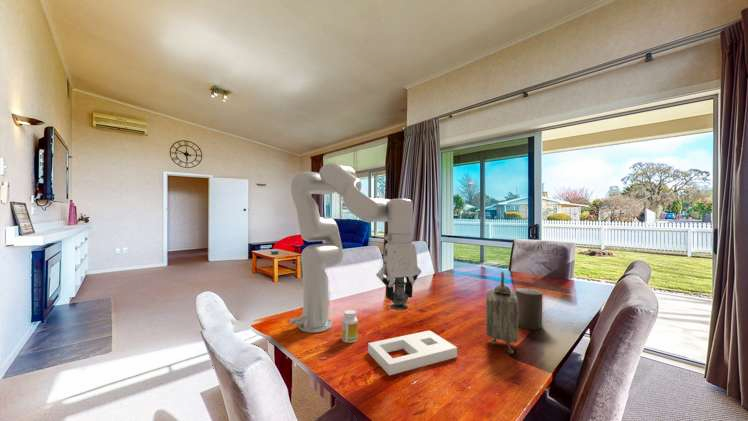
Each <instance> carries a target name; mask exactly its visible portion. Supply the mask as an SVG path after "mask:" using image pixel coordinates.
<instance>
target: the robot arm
mask: <svg viewBox="0 0 748 421" xmlns="http://www.w3.org/2000/svg"><path fill="white" fill-rule="evenodd" d="M361 189H362V181H361V180H360V179H359V178H358V177H357V174H356V171H355V169H353V167H351V166H350V165H346V164H341V163H336V162H335V163H334V162H328V163H325V164H323V165H322V166H321V167H320V169H319V172H315V171H306V170H305V171H300V172H298V173H296V174H295V175H294V176H293V178H292V180H291V183H290V194H291V197H292V200H293V203H294V206H295V210H296V214H297V216H296V217H297V220H298V226H299V232H300V236H301V239H302V240H304V241H306V242H309V243H310V242H322V243H317V244H316V243H315V244H311V245H308V246H306V247H305V248H304V249H302V252H301V254H300V261H301V268H302V275H303V276H302V278H303V280H302V281H303V283H302V284H303V285H302V287H303V289H302V290H303V291H302V296H303V297H302V299H303V300H302V313H301V314H300V316H298V317H294V318H290V319H289V324H290V325H294V326H298V329H299V330H300V331H302V332H304V333H309V334H312V333H322V332H325V331H328V330H329V329H331V328H332V326H333V321H332V320H331V319H329V277H328V275H327V272H326V271H325V269H326V268H330V267H331V268H332V267H335V266H338V265H340V264H341V263H342V261H343V258H344V252H343V251H344V250H343V245H342V239H341V236H340V234H341V233H340V231H339V226H338V224H337V222H336V220H334V219H333V218H332V217H327V216H323V217H321V215H320V212H319V210H320V209H319V205H318V203H317V202H316V200H315V199H314V197H312V194H315V195H331V194H334V193H337V194H338V195H339V196H340V197H342V201H343V203H344V205H345V207H346V209H347V210H348V211H349V212H350V213H352V215H354V217H357V218H358V219H360V221H363V222H367V223H375V222H376V223H379V222H380V223H381V222H383V223H384V222H385V223H386V222H387V234H386V235H384V237H383V239H384V241H387V243H385V247H384V249H383V251H384V252H383V259H382V267H381V268H379V270H378V272H377V273H376V277H377V278H378V279H379V280H380V281H381V282H382V283H383V284H384V285H385V297H386V299H388V300H390V301H391V300H393V296H394V289H395V287H394V286H393V285H394V282H395V278H402V277H404V279H405V281H406V282H404V283H405V285H404V291H405V294H407V295H409V297H408V298H413V288H414V287H413V285H414V284H415V282H416V280H417V279H418V277H419V276H420V275H421V273H422V270H421V269H420V267H419V266H418V256H417V255H418V254H417V249H416V248H417V247H416V244H415V243H413V216H414V213H413V212H414V211H413V209H414V206H413V201H412V200H411V199H408V198H392V199H390V198H382V197H381V198H380V197H369V196H367V195H366V194H365V193H363V192H362V191H361ZM384 275H385V276H384Z"/></svg>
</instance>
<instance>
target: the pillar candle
mask: <svg viewBox="0 0 748 421" xmlns="http://www.w3.org/2000/svg"><path fill="white" fill-rule="evenodd" d="M515 294H516V296H517V300H518V327H520V328H523V329H527V330H534V331H537V330H541V329H542V328H543V292H542V291H541V290H537V289H533V288H529V287H527V288H525V287H520V288H519V287H517V288H515Z"/></svg>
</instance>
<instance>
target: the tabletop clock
mask: <svg viewBox="0 0 748 421" xmlns="http://www.w3.org/2000/svg"><path fill="white" fill-rule="evenodd" d="M500 275H501V276H500V278H501V280H500V284H498V285H496V287H495V288H494V289H491V290H488V291H486V295H485V296H486V297H485V298H486V301H485V303H486V304H485V305H486V306H485V309H486V310H485V311H486V312H485V331H486V332H485V335H487V336H488V337H490V338H491V339H492V340H491V344H492V345H493V346H495V345H497V344H498V342H497V340H500V341H504V342H505V345H506V346H507V348H508V350H507V352H508V354H509V355H513V354H514V350H513V349H512V348H511V346H510V342H513V343H518V339H519V336H518V335H519V334H518V333H519V326H518V300H517V296H516V294H515V292H516V291H515V292H514V291H511V289H510V287H508V286H507V285H505V273H504V271H501V273H500Z"/></svg>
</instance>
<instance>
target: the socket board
mask: <svg viewBox="0 0 748 421" xmlns="http://www.w3.org/2000/svg"><path fill="white" fill-rule="evenodd" d="M367 346H368V347H367V352H368V354H369V355H370V357H371V358H373V360H374V361H375V362H376V363H377V364H378V365H379V366H380V367H381V368H382V369H383V370H384V372H386V374H387V375H388V376H393V375H397V374H400V373H403V372H407V371H411V370H414V369H419V368H422V367H426V366H428V365H433V364H437V363H439V362H444V361H449V360H451V359H455V358H458V347H457V346H455V344H453V343H451V342H450V341H447V340H446V339H444V338H443V337H441V336H440V335H438V334H436V333H435V332H433V331H431V330H425V331H420V332H414V333H411V334H406V335H401V336H396V337H392V338H387V339H386V338H385V339H381V340H376V341H371V342H368V343H367ZM400 350H404V351H405V352H406V353H408V354H406V355H401V356H397V357H392V355H390V354H389V353H391V352H396V351H400Z"/></svg>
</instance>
